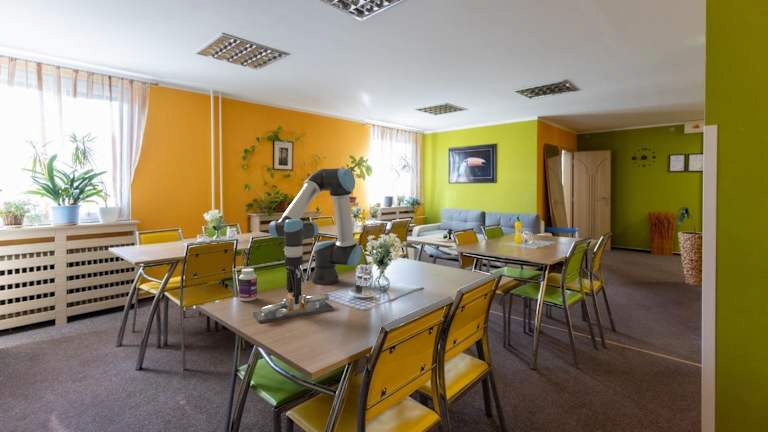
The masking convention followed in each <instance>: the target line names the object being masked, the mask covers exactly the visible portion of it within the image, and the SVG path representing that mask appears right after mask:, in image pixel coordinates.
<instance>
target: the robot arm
mask: <svg viewBox="0 0 768 432" xmlns="http://www.w3.org/2000/svg"><path fill="white" fill-rule="evenodd" d="M355 185H356V179H355V175H354V173H353V172H352V171H351V169H348V168H341V167H340V168H337V167H336V168H321V169H317V171H314V172H313V173H312V174H311V175H309V176H308V177H307V179H305V180H304V182H303V184H302V188H301V189H300V191H299V192H298V193H297V195H296V196H295V198H294V199H293V200H292V201H291V203H290V204H289V206H288V207H287V208H286V210H285V211H284V213H283V214H282V215H281V217H280V218H279V219H278V220H272V221H271V222H270V223H269V226H268V232H269V234H270V236H272V237H275V238H284V248H283V249H282V250H283V251H284V266H286V269H285V270H286V290H287V295H293V296H292V297H293V310H295V309H299V296H301V297H302V295H303V294H302V275H303V274H302V273H303V272H300V271H301V270H300V266H302V265H303V264H304V263H303V261H304V257H303V255H304V245H303V241H304V240H309V239H310V240H311V239H313V238H315V237H317V235H318V234H319V231H320V230H319V226H318V224H317V223H316V222H314V221H303V220H302V219H301V217H302V216H303V214H304V213H305V211H306V210H307V209H308V207H309V205H310V204H311V203H312V201H313V200H314V199H315V197H317V196H318V195H319V194H320V193H321V192H324V191H325V192H328V191H329V197H332V201H333V208H334V216H335V217H334V218H335V225H336V227H335V228H336V235H337V236H336V237H337V240H325V241H319V242H316V244H315V246H314V271H313V273H312V274H313V275H312V277H311V282H312V283H313V284H314V285H322V286H323V285H334V284H337V283H338V282H340V281H339V280H340V278H339V273H338V271H337V266H336V265H338V266H348V267H350V266H351V267H354V266H356V265H358V264H359V262H360V260H361V257H362V247H361V245H359V244H357V240H356V239H355V238H354V230H353V219H352V210H351V209H352V208H351V202H350V196H351V195H352V192H353V191H354V189H355V187H356V186H355Z"/></svg>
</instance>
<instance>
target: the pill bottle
mask: <svg viewBox="0 0 768 432" xmlns="http://www.w3.org/2000/svg"><path fill="white" fill-rule="evenodd" d="M238 294H239V295H238V298H239V300H240V301H242V302H252V301H254V300H256V299H257V298H258V275H257V274H255V269H254V268H243V269H241V274H240V275H239V276H238Z"/></svg>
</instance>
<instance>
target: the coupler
mask: <svg viewBox="0 0 768 432" xmlns="http://www.w3.org/2000/svg"><path fill="white" fill-rule="evenodd" d="M292 296H293V295H288V294H287V295H286V299H287V300H288V301H289V305H290V307H289V310H293V297H292ZM300 308H302V295H301V296H299V309H300Z"/></svg>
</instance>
